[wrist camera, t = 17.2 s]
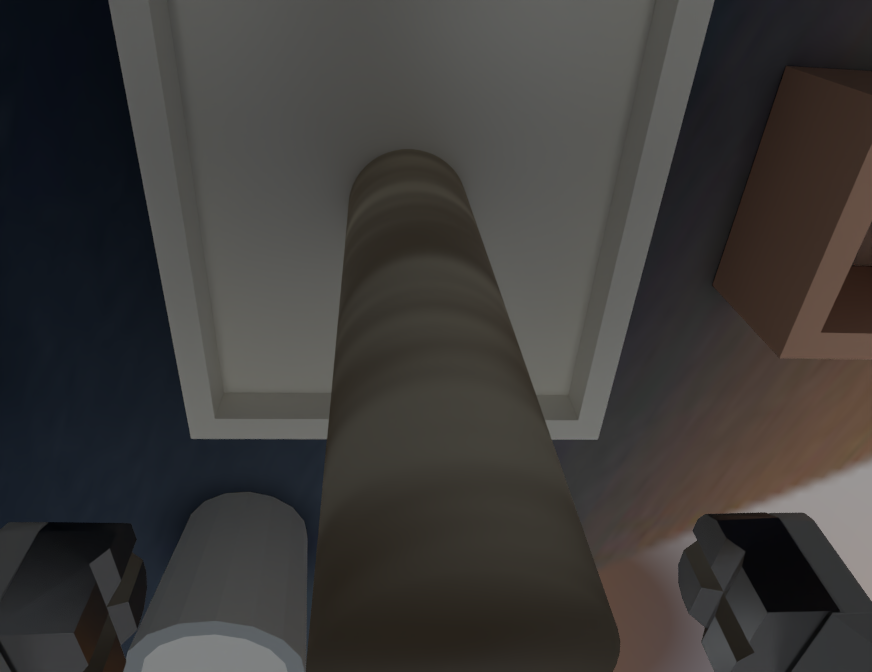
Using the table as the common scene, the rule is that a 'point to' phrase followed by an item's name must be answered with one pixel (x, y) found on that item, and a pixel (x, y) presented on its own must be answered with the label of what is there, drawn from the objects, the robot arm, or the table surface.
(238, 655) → the grey cup
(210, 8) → the tray
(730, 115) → the table surface
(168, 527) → the table surface
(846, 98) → the brown square sleeve
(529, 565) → the olive grey ringed cylinder
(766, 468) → the table surface
